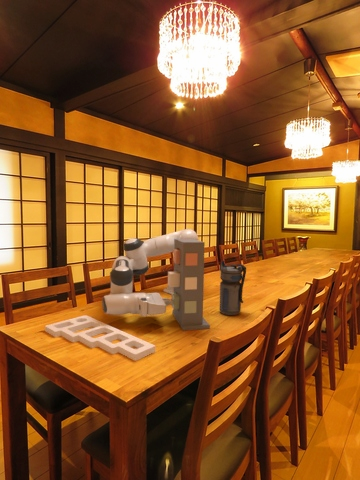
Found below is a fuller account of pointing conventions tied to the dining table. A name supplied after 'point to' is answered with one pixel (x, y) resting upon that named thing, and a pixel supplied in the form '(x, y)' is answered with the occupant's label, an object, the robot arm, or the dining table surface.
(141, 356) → the holder
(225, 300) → the beverage bottle
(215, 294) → the dining table surface
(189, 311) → the button panel
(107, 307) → the robot arm
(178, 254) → the top terracotta button
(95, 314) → the dining table surface
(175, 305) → the bottom sage button
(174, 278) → the middle cream button
